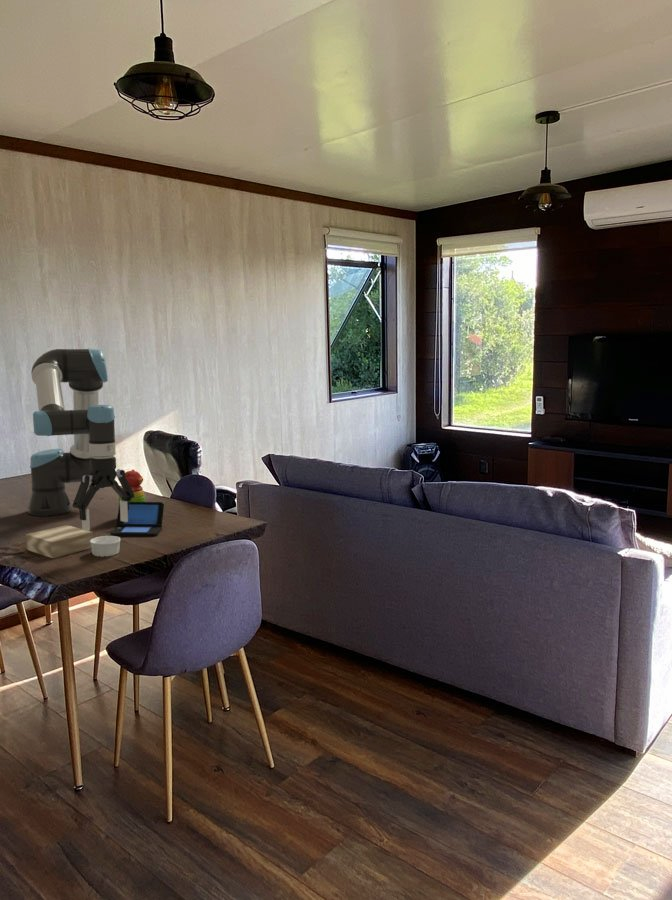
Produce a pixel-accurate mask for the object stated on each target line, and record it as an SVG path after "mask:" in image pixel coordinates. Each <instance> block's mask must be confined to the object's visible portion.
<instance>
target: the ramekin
mask: <svg viewBox="0 0 672 900" xmlns="http://www.w3.org/2000/svg"><path fill="white" fill-rule="evenodd" d="M90 543H91V548H90V549H91V554H92V555H93V556H95V557H99V556H100V558H101V557H104V556H105V557H111V556H116V555H117V554H119V552H120V549H121V548H120V546H121V537H120V536H111V535H101V536H97V537H93V539H91V540H90ZM115 554H116V555H115Z"/></svg>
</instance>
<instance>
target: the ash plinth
mask: <svg viewBox="0 0 672 900" xmlns="http://www.w3.org/2000/svg"><path fill="white" fill-rule="evenodd" d="M25 538H26V550H27V551H30V552H32V553H36V554H39V555H40V556H41V555H42V556H45V557H47V558H51V559H56V558H59V557H64V556H66V555H70V554H74V553H79V552H81V551H86V550H90V549H91V543H90V540H91V539H93V538H94V532H93V531H91V530H90V531H85V530H82V528H80V527H77V526H76V527H75V526H73V525H68V524H65V525H60V526H56V527H55V526H54V527H51V528H47V529H43V530H39V531H34V532H29V533H26V534H25Z"/></svg>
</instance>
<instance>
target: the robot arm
mask: <svg viewBox="0 0 672 900" xmlns="http://www.w3.org/2000/svg"><path fill="white" fill-rule="evenodd" d="M106 364H107V363H106V360H105V355H104V353H103V351H102V350H100V349H91V348H76V349H75V348H70V349H69V348H55V349H51V350H48V351H46V352H45V353H43V354H41V355H40V356H39V357H38V358H37V359H36V360H35V361H34V363H33V364H32V367H31V379H32V382H33V383H34V385H35V389H36V397H37V408H38V410H36V411H34V412H33V413H32V422H33V424H32V425H33V433H34V435H36V436H42V437H44V436H45V437H51V436H66V435H67V436H69V435H73V444H72V445H71V446H70V449H69V452H68V451H67V452H65V451H64V449H63V448H52V449H50V448H49V449H46V450H45V449H44V450H42V451H37V452H35V453H33V454H32V455H30V465H29V468H30V476H31V495H30V497H29V498H30V499H29V502H28V506H27V513H29V515H30V514H31V516H36V517H46V516H49V517H50V515H51V516H57V515H62V514H66V513H69V512H71V511H72V508H75V509H78V512H79V513H78V515H79V520H80V521H81V529H82V530H85V531H91V526H90V524H91V523H90V509H89V508H88V506H89V505H90V504H91V502H92V499H94V496H95V495H96V493H97V492H98V491H99V490H100V489H104V488H112V489H113V490H114V492H115V493H116V494H117V495H118V497H119V496H120V497H121V498H122V499H123V500H120V520H121V521H123V522H128V510H129V501H131V498H133V497H134V493H133V491H132V489H131V487H130V485H129V483H128V481H127V479H126V477H125V472H126V471H125V470H124V469H120V468H119V469H117V470H116V468H117V458H116V456H115V455H117V453H116V451H117V450H116V436H115V435H116V433H115V431H116V430H115V419H116V416H115V410H114V409H115V408H114V406H112V405H110V404H99V391H100V390H102V389H103V387H104V383H107V382H108V377H109V376H108V372H107V365H106ZM61 383H68V387H69V388H70V389H71V390H72V391H73V394H72V395H73V409H70V410H69V409H65V408H66V407H65V404H64V396H63V392H62V391H63V390H62V385H61ZM116 478H117V479H118V481H119V483H118V482H117V480H115V479H116ZM73 483H80V484H79V487H78V490H77V492H76V495H75V497H74V500H73V503H72V504H71V501H70V498H69V496H68V494H67V492H66V484H73ZM119 484H120V485H119ZM122 488H123V489H122Z"/></svg>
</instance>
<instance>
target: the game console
mask: <svg viewBox="0 0 672 900" xmlns="http://www.w3.org/2000/svg"><path fill="white" fill-rule="evenodd" d="M164 509H165V504H164V503H163V502H161V501H159V502H158V501H145V502H129V510H128V522H123V521H121V520H120V504H119V503H118V510H117V517H116V518H117V519H116V525H115V527H114V528H113V529H112V531H111V532H110V536H116V537H141V536H142V537H157V536H158V535H159V534H160V532H161V531H162V530H163V519H164Z"/></svg>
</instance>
